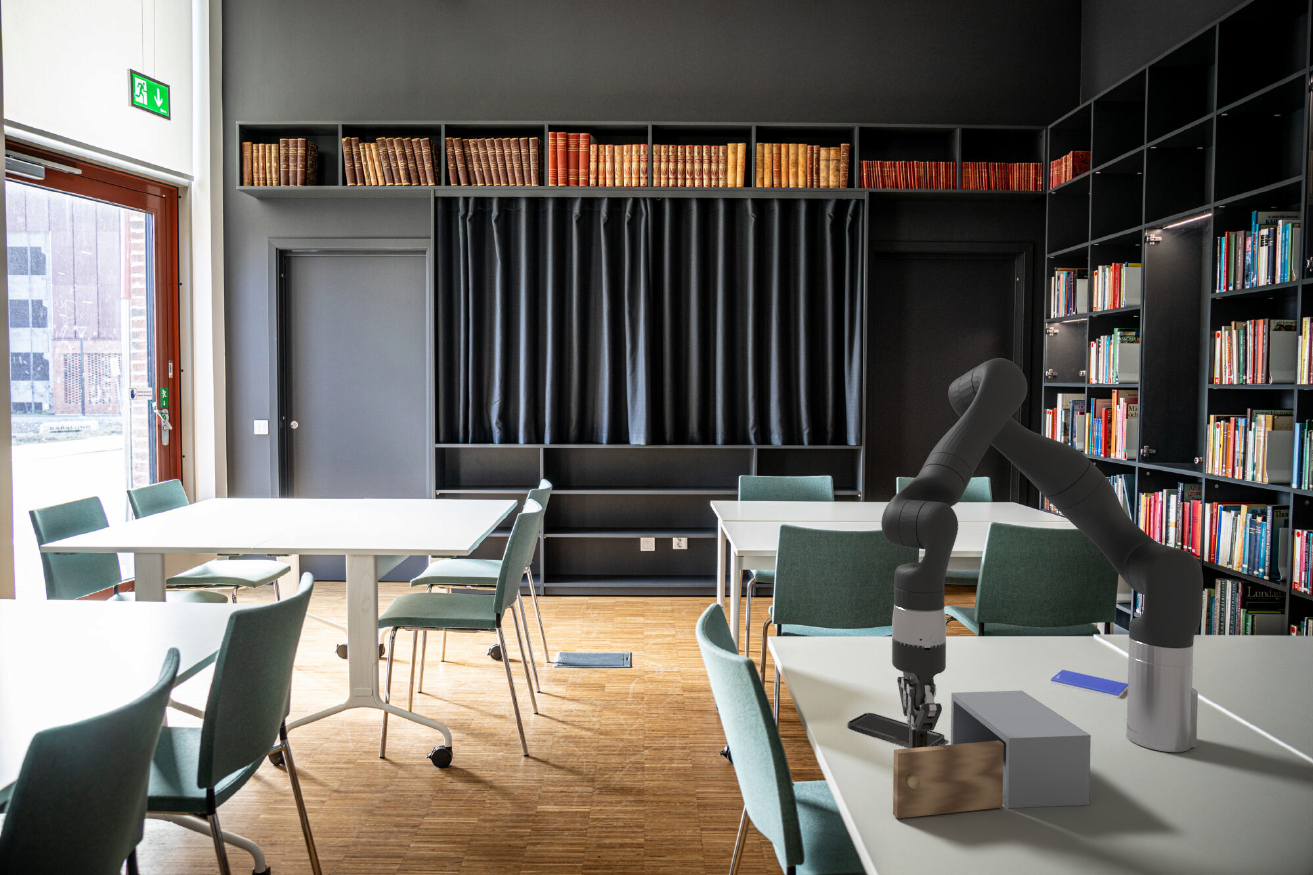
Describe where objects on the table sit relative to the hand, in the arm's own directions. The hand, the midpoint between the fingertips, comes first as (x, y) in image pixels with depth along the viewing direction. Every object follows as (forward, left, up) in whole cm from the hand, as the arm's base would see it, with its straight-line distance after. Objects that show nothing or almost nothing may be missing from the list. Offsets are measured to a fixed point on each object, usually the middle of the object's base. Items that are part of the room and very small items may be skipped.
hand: (918, 752), depth 119 cm
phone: (-4, -20, -6) cm, 21 cm away
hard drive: (-53, -40, -6) cm, 67 cm away
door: (-1, +8, -5) cm, 9 cm away
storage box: (-16, -2, -6) cm, 17 cm away
